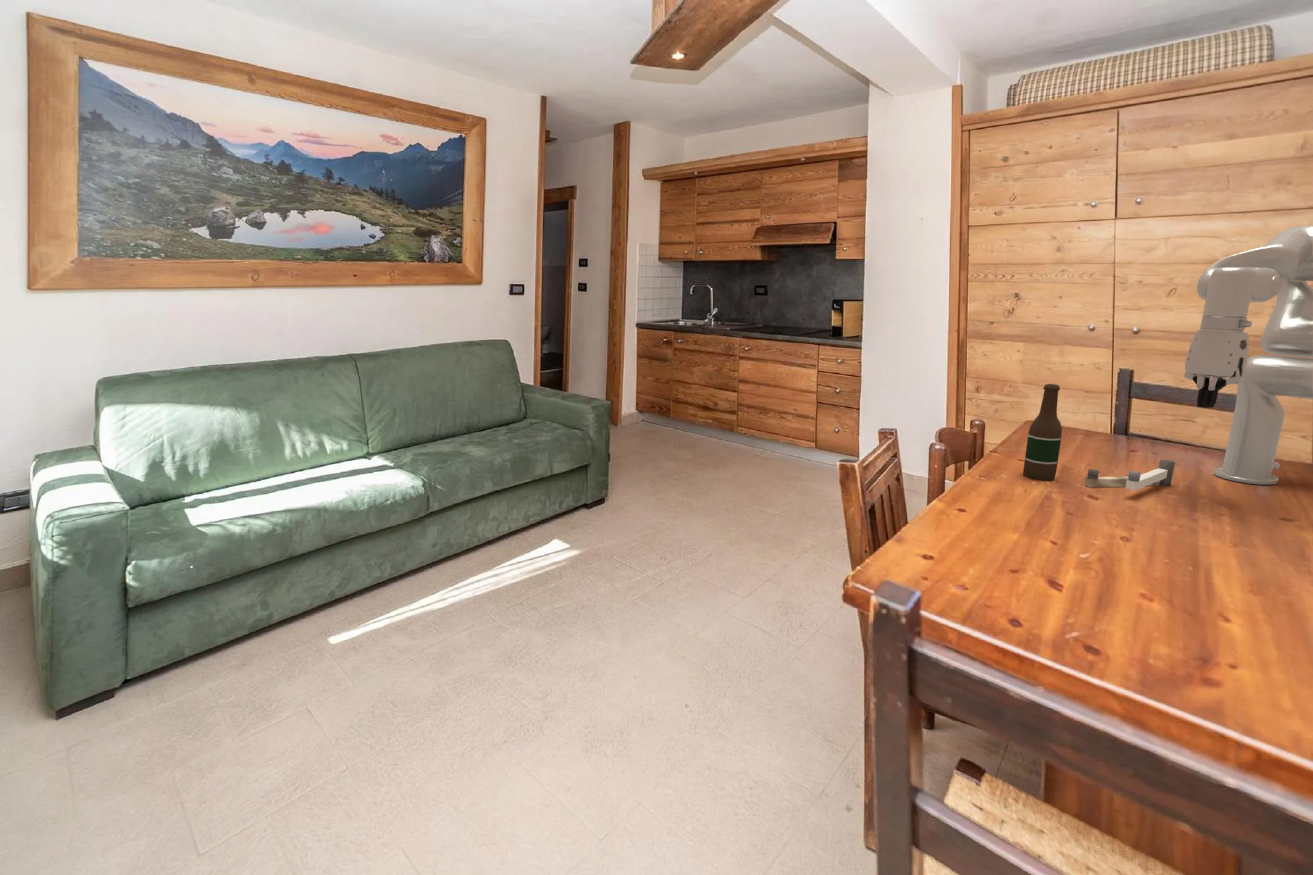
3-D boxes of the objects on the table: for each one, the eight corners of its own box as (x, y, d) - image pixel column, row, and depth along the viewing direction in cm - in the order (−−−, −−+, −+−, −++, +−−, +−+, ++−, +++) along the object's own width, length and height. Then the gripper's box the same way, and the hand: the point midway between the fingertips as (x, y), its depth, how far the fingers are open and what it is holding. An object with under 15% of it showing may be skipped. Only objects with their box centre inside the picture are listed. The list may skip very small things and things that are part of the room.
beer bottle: (1061, 482, 169) (1075, 387, 163) (1027, 480, 170) (1040, 386, 165) (1049, 473, 176) (1063, 383, 170) (1017, 471, 178) (1030, 381, 172)
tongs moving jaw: (1156, 475, 167) (1159, 460, 166) (1166, 478, 165) (1169, 462, 164) (1124, 488, 156) (1127, 471, 156) (1135, 490, 155) (1138, 473, 154)
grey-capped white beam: (1163, 482, 169) (1168, 459, 167) (1173, 486, 166) (1178, 462, 165) (1082, 484, 167) (1086, 460, 166) (1091, 487, 164) (1095, 464, 163)
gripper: (1273, 327, 142) (1253, 412, 146) (1197, 323, 156) (1181, 401, 160) (1250, 327, 140) (1231, 413, 144) (1175, 322, 153) (1159, 402, 157)
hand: (1205, 406), depth 152 cm, fingers closed
